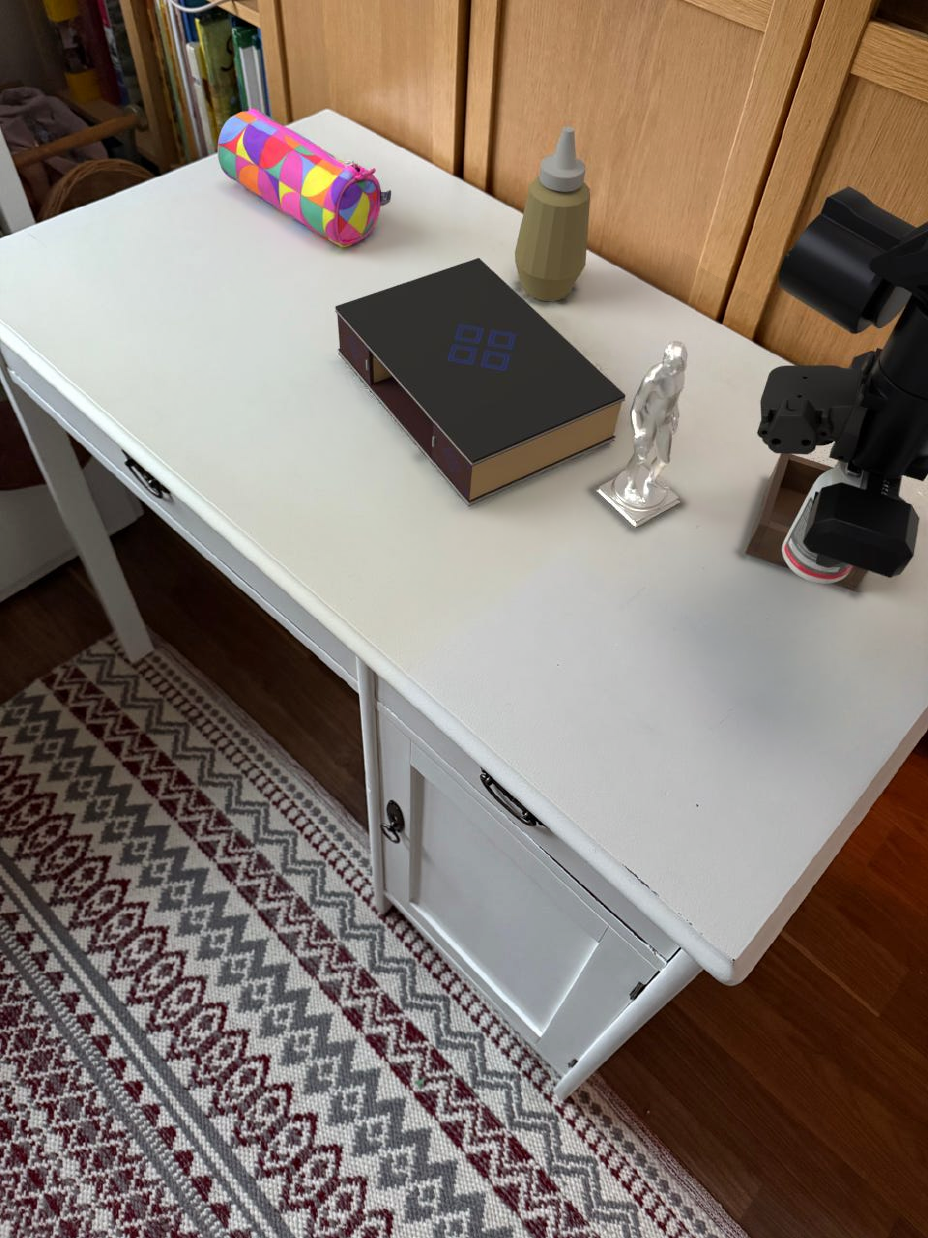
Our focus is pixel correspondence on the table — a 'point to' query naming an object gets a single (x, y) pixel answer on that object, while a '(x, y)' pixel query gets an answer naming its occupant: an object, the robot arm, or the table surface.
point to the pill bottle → (792, 546)
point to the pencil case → (301, 177)
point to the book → (477, 378)
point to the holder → (788, 511)
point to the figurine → (650, 441)
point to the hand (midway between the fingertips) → (828, 537)
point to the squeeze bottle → (554, 225)
